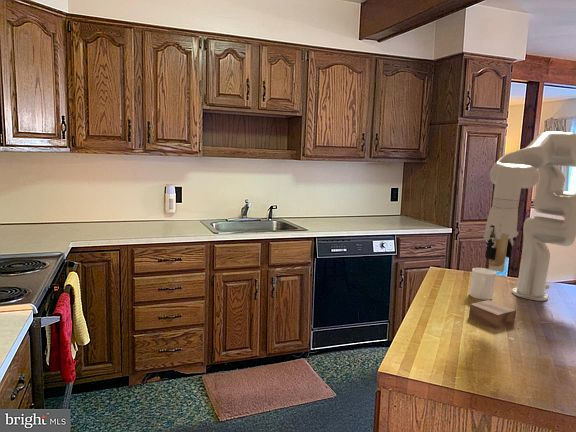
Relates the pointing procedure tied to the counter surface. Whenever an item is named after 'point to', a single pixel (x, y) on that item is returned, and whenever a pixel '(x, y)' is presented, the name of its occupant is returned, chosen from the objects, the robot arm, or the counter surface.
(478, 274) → the mug
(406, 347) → the counter surface
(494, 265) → the skincare box
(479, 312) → the walnut block
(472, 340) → the counter surface
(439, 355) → the counter surface
